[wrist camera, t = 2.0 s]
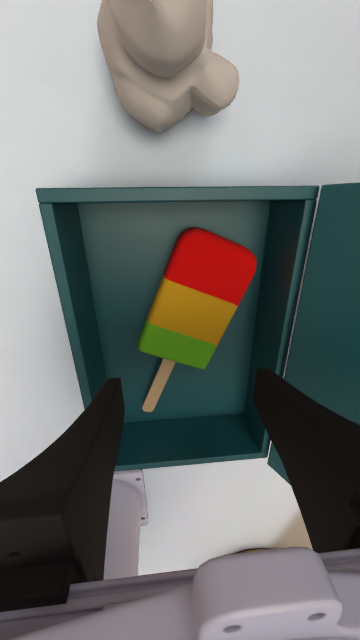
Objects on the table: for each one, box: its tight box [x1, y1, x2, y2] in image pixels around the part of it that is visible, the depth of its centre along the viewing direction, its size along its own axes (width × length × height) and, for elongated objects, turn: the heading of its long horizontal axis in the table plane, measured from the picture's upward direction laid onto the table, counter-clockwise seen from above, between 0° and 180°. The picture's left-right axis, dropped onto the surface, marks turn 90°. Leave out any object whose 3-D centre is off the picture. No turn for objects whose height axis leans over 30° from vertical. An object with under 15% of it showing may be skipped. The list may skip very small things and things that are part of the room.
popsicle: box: [138, 227, 257, 412], centre depth 19 cm, size 6×15×2 cm, turn 158°
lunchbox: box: [36, 186, 319, 472], centre depth 18 cm, size 13×19×5 cm
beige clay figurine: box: [97, 0, 239, 133], centre depth 10 cm, size 5×7×8 cm
